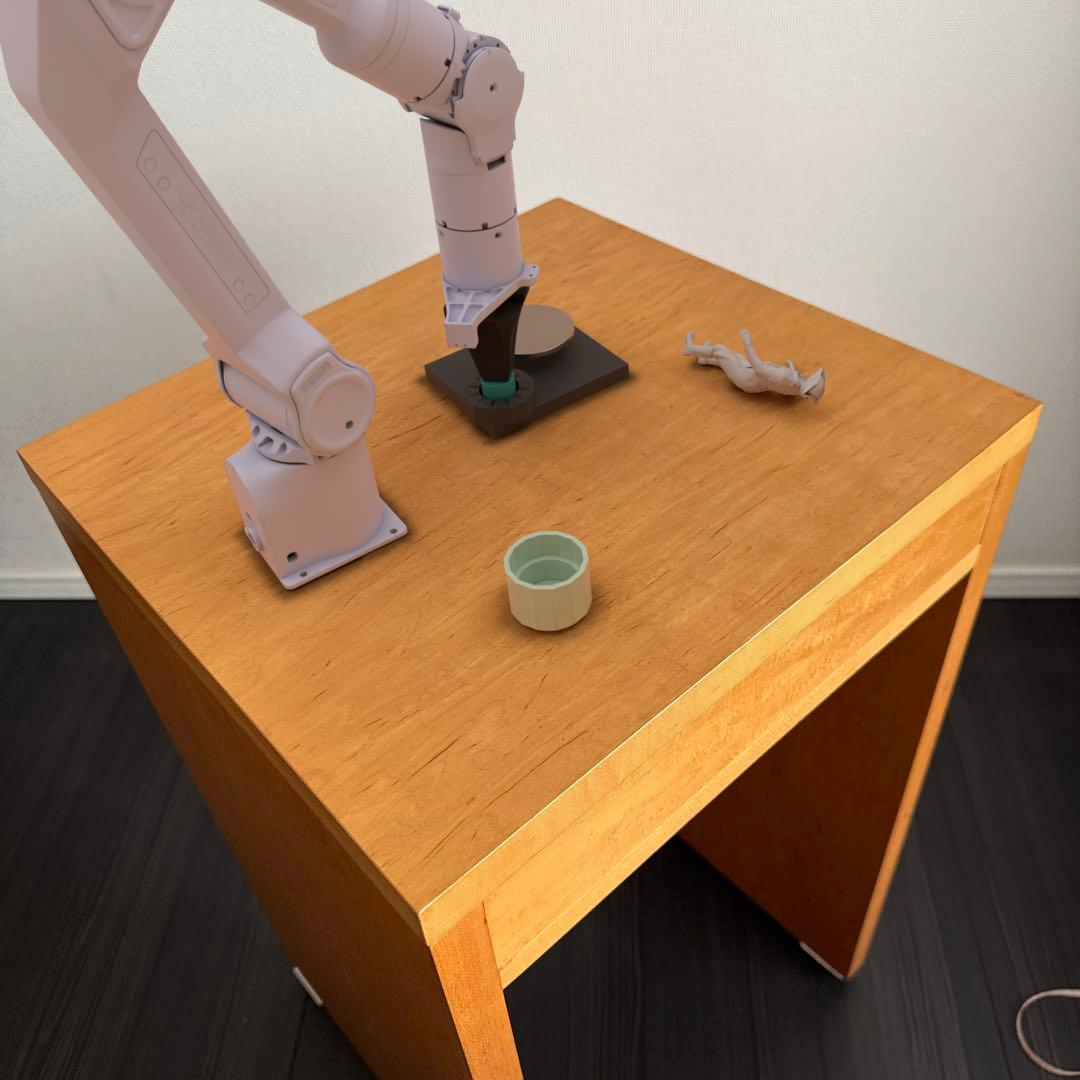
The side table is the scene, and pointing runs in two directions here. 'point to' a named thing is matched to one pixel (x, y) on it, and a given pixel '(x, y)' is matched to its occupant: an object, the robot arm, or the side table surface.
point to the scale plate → (542, 331)
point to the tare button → (499, 389)
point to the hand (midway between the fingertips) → (497, 377)
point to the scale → (529, 383)
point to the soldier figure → (756, 370)
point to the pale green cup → (548, 580)
